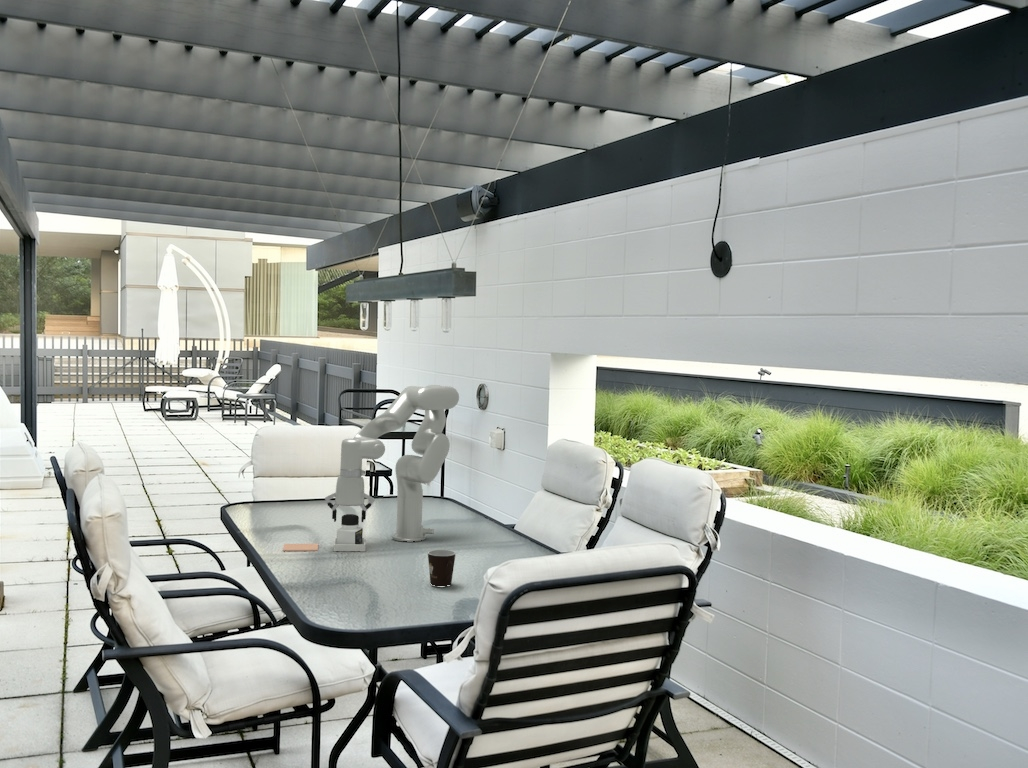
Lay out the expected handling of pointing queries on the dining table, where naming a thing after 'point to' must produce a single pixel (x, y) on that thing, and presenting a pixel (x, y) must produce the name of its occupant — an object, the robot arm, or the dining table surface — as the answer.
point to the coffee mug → (441, 567)
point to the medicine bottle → (350, 530)
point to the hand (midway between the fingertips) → (348, 521)
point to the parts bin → (349, 546)
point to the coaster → (300, 547)
